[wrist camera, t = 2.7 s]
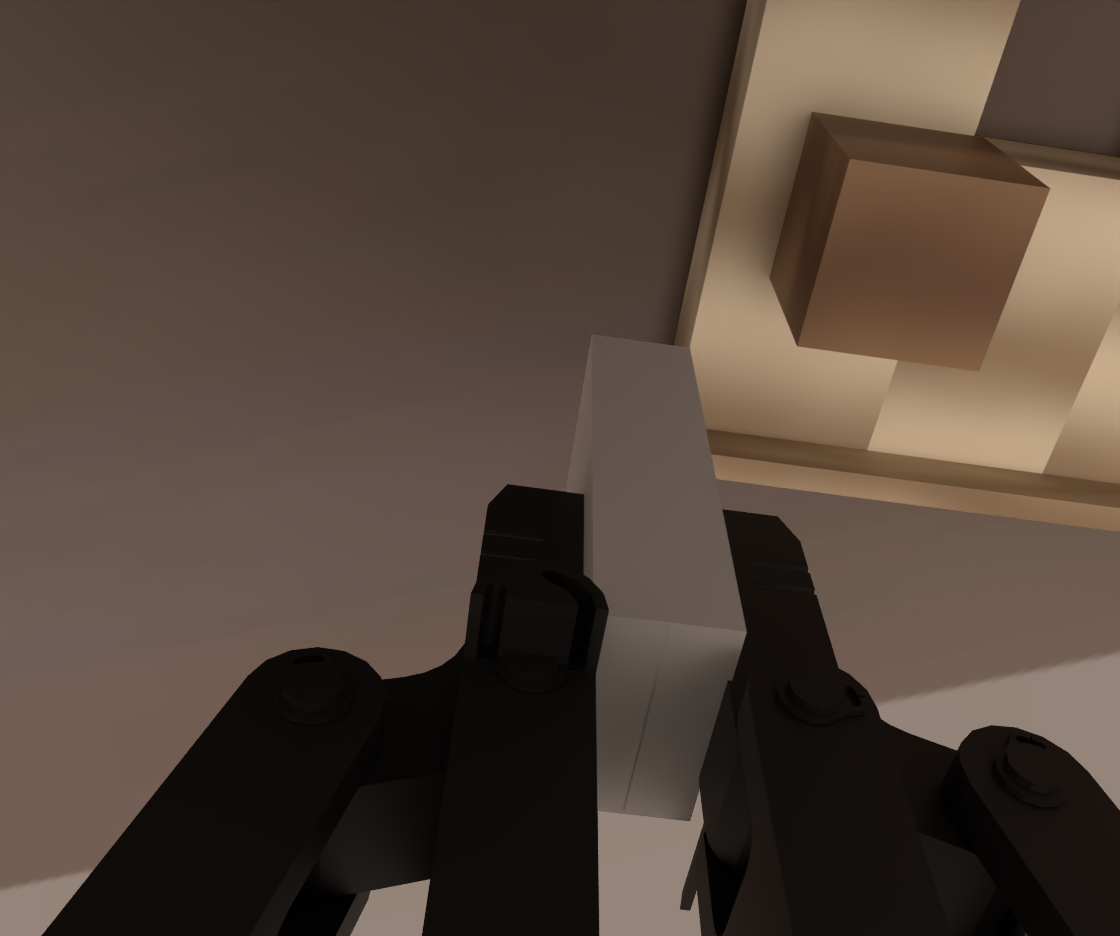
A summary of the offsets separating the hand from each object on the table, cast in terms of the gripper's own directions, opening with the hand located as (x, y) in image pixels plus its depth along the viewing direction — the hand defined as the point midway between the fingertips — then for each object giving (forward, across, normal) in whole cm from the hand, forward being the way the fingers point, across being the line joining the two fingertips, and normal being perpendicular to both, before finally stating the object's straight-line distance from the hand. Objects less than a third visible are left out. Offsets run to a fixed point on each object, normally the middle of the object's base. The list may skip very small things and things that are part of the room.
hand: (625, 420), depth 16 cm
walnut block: (+13, +7, 0) cm, 15 cm away
